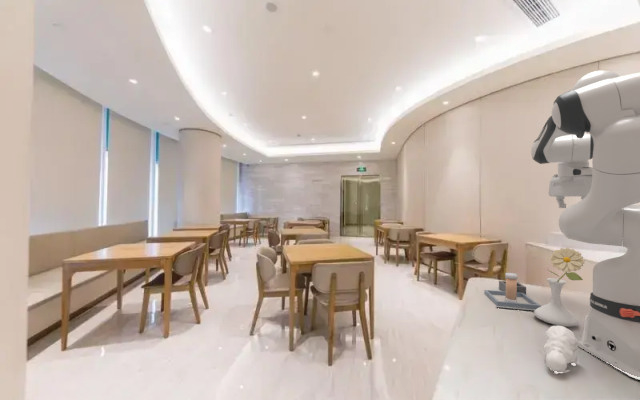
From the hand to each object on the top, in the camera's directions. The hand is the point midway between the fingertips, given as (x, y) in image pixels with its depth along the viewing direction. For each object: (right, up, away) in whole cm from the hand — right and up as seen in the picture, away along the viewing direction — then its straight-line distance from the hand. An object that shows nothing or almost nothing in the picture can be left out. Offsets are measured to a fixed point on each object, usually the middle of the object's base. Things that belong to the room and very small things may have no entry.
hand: (572, 208), depth 107 cm
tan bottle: (-23, -36, +1) cm, 43 cm away
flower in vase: (-19, -37, -16) cm, 45 cm away
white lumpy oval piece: (-39, -37, -40) cm, 67 cm away
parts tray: (-23, -37, +1) cm, 43 cm away
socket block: (-15, -37, +11) cm, 41 cm away
